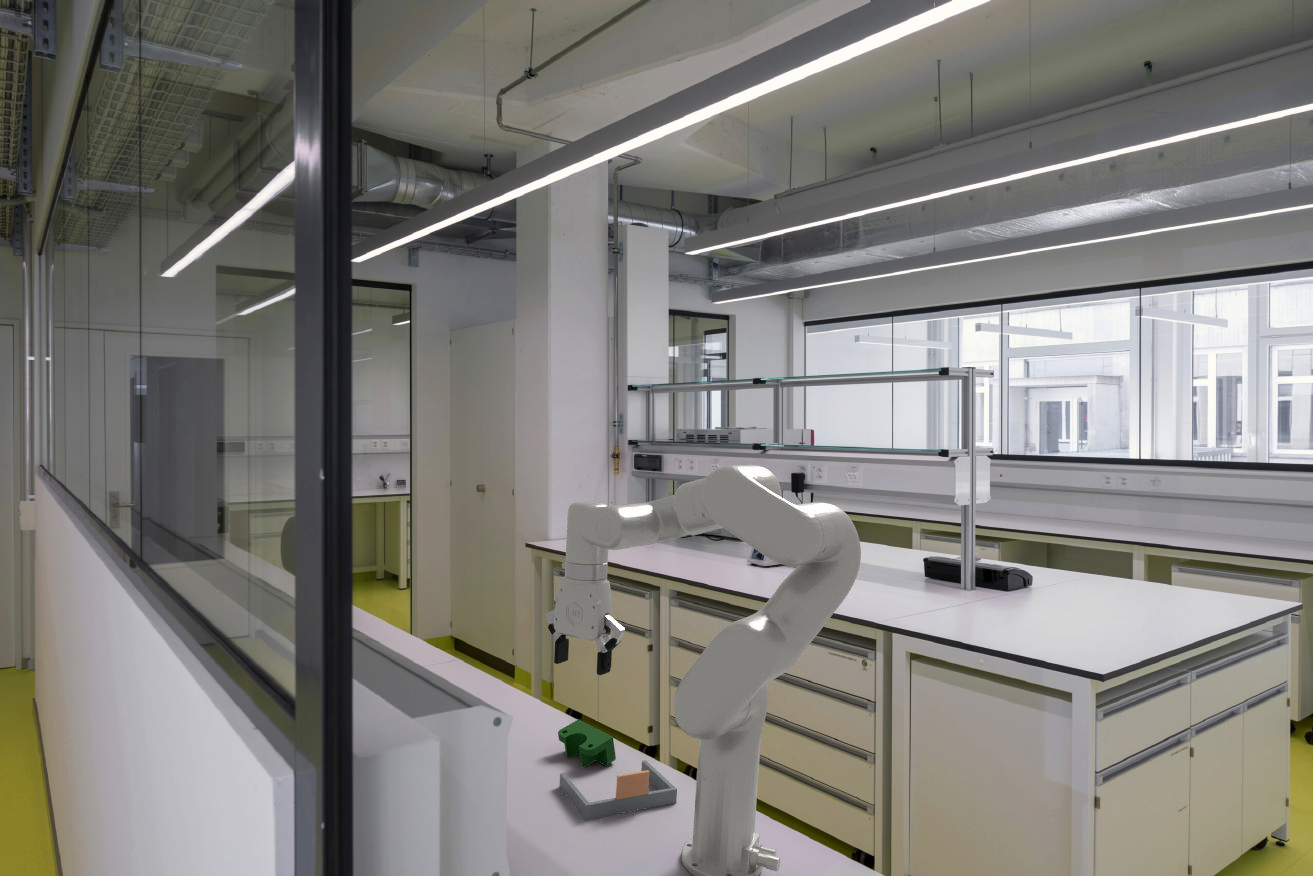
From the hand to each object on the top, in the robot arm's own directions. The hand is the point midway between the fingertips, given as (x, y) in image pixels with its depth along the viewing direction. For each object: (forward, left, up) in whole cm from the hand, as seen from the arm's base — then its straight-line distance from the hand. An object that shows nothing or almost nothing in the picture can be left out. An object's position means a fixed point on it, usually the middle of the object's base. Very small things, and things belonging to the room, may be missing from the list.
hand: (581, 667), depth 138 cm
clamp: (+7, -16, -24) cm, 30 cm away
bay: (-6, -6, -24) cm, 25 cm away
